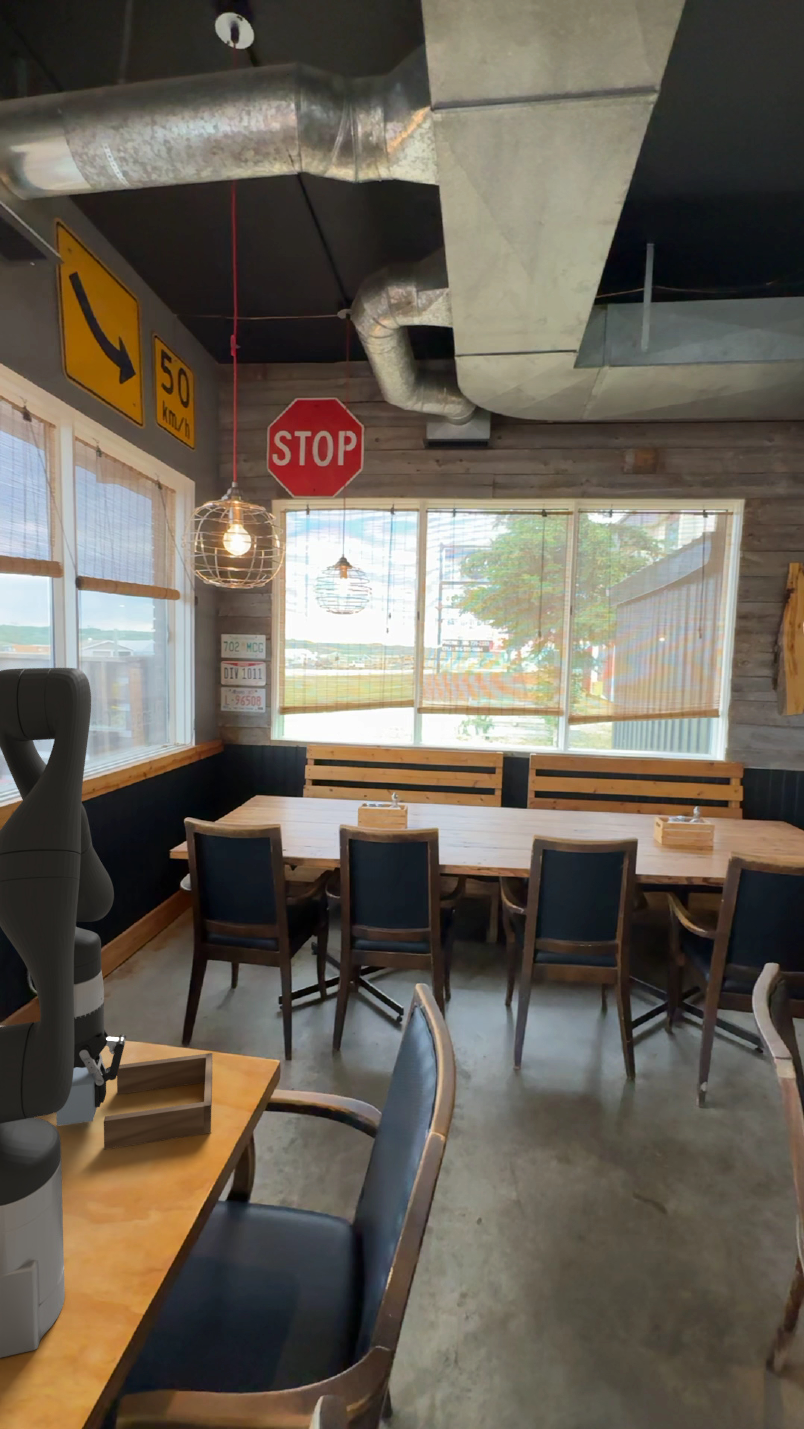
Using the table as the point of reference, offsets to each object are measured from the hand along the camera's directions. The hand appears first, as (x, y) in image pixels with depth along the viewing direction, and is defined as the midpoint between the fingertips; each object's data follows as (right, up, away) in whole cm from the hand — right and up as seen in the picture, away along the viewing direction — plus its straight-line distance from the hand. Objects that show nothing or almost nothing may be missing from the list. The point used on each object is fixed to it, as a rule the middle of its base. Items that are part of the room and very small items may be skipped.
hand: (78, 1105), depth 100 cm
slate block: (0, -1, 0) cm, 1 cm away
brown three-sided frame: (+12, -3, +4) cm, 12 cm away
